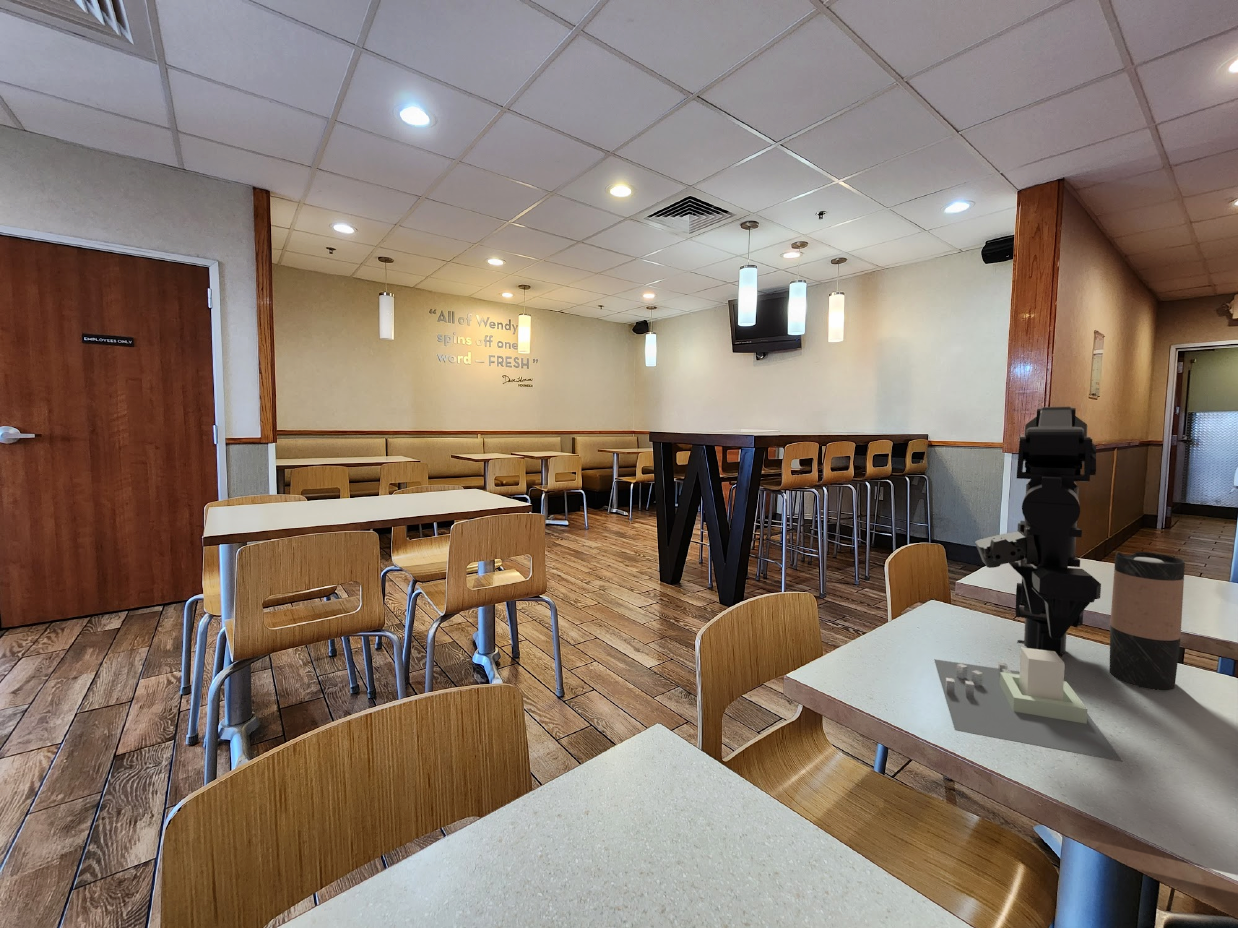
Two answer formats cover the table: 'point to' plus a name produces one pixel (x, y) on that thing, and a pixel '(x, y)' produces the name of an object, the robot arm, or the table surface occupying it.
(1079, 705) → the end holder
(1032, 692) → the beige rectangular block
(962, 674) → the set of small cubes
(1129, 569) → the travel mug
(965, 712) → the mat
